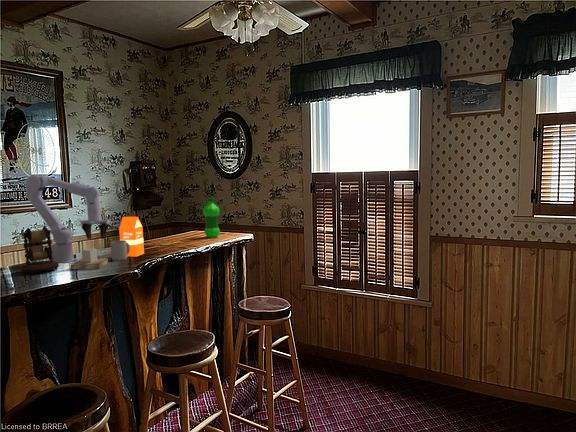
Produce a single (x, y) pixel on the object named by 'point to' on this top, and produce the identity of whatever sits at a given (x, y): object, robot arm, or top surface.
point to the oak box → (90, 264)
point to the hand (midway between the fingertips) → (96, 238)
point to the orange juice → (132, 235)
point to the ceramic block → (89, 255)
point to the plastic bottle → (211, 219)
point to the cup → (119, 250)
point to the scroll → (38, 251)
